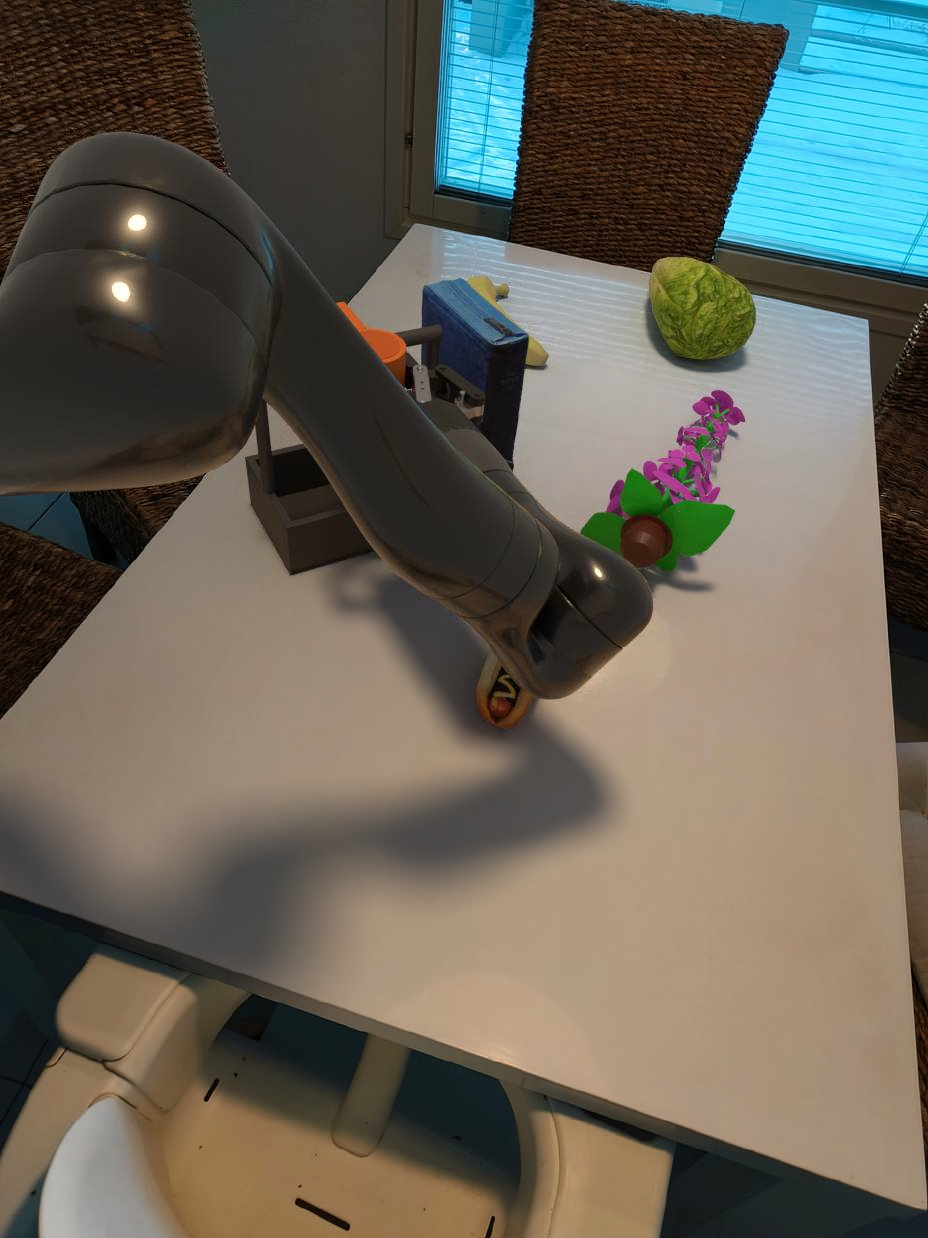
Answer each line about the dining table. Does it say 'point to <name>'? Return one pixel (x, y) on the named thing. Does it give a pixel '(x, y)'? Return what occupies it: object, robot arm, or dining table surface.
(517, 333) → the book
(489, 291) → the banana
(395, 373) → the measuring cup
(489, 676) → the hot dog
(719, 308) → the lettuce
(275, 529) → the basket
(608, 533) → the potted plant
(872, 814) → the dining table surface
